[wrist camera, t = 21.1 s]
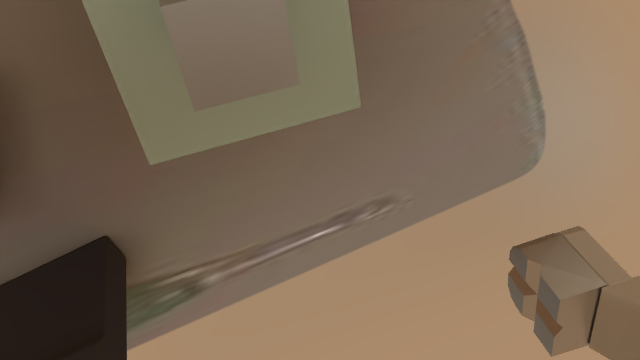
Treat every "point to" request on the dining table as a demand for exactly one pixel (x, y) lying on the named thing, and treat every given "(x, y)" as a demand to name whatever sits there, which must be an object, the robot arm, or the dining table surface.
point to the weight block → (231, 48)
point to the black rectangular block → (67, 308)
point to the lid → (232, 118)
